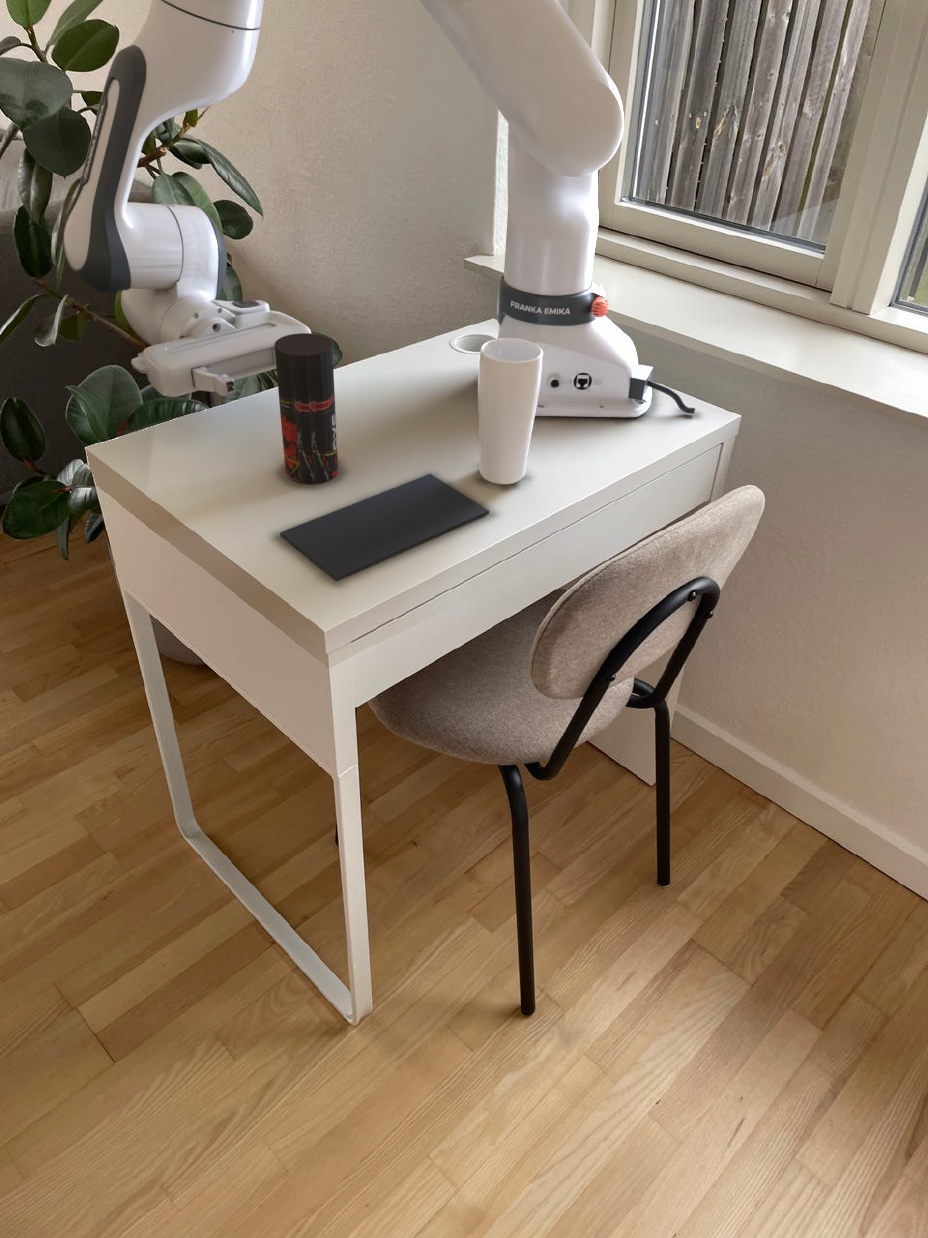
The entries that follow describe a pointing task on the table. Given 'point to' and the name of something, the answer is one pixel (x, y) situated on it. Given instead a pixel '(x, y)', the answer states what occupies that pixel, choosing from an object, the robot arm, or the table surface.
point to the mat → (382, 525)
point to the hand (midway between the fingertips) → (265, 377)
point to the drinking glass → (507, 406)
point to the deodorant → (307, 407)
